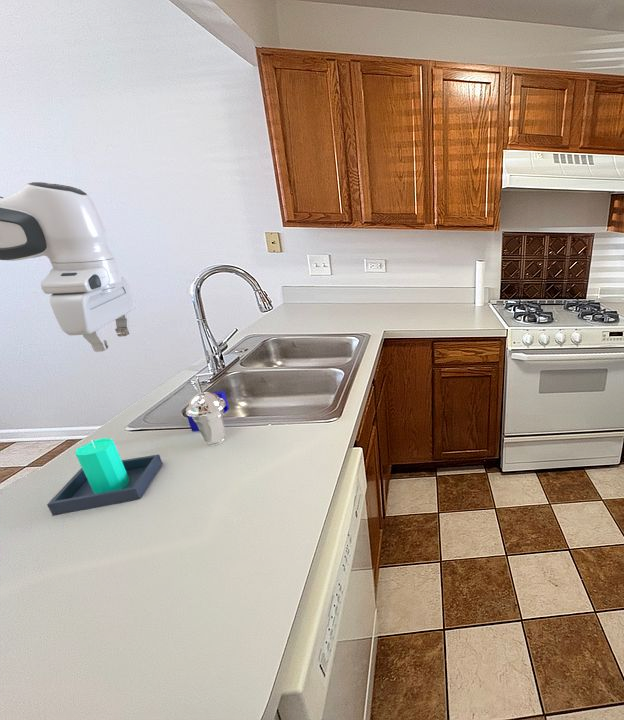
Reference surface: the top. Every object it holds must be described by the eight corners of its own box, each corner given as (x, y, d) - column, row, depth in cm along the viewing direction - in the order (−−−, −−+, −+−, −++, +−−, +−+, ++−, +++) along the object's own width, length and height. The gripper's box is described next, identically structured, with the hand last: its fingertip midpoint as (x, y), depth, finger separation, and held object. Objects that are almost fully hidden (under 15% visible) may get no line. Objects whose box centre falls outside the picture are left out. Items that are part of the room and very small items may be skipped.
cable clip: (214, 409, 119) (209, 391, 116) (229, 409, 119) (224, 391, 116) (186, 431, 108) (180, 411, 105) (202, 431, 107) (196, 412, 105)
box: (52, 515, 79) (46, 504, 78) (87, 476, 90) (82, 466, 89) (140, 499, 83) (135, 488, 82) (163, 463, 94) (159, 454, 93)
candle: (128, 473, 91) (109, 428, 86) (131, 486, 87) (111, 440, 82) (92, 486, 87) (71, 439, 82) (94, 500, 83) (71, 452, 78)
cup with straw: (225, 428, 109) (206, 361, 101) (242, 439, 104) (223, 369, 96) (191, 443, 102) (167, 372, 95) (206, 455, 97) (183, 382, 90)
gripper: (97, 267, 84) (119, 329, 90) (33, 286, 66) (65, 362, 72) (133, 266, 86) (152, 326, 91) (79, 284, 68) (107, 358, 74)
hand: (113, 342), depth 81 cm, fingers open, 8 cm apart
